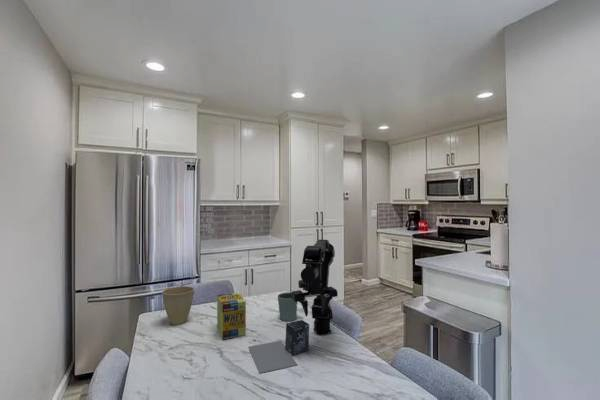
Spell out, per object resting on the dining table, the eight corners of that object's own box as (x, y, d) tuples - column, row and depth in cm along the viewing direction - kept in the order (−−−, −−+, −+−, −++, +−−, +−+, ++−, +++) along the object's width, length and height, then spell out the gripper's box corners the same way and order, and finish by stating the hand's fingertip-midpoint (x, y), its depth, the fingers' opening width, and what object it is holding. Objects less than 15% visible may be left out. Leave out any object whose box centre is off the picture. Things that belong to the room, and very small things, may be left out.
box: (292, 355, 111) (293, 327, 111) (284, 349, 115) (285, 322, 116) (309, 350, 115) (309, 323, 115) (301, 345, 120) (301, 319, 120)
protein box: (222, 340, 124) (222, 304, 124) (217, 327, 138) (216, 294, 138) (246, 336, 128) (246, 301, 129) (238, 323, 142) (238, 291, 143)
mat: (281, 341, 123) (281, 340, 123) (297, 365, 105) (297, 364, 105) (248, 347, 118) (248, 346, 118) (259, 373, 99) (259, 373, 99)
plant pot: (197, 323, 143) (197, 291, 143) (165, 331, 134) (165, 296, 135) (190, 314, 155) (190, 284, 155) (159, 320, 147) (159, 289, 147)
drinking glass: (301, 317, 149) (301, 294, 149) (290, 324, 140) (290, 299, 141) (285, 313, 154) (285, 291, 155) (273, 320, 146) (273, 296, 146)
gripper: (326, 270, 129) (326, 305, 129) (286, 274, 123) (286, 311, 122) (338, 276, 119) (338, 314, 119) (295, 280, 112) (295, 321, 112)
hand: (314, 314), depth 118 cm, fingers open, 7 cm apart
